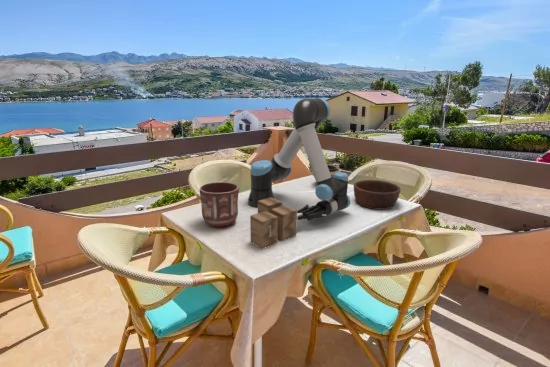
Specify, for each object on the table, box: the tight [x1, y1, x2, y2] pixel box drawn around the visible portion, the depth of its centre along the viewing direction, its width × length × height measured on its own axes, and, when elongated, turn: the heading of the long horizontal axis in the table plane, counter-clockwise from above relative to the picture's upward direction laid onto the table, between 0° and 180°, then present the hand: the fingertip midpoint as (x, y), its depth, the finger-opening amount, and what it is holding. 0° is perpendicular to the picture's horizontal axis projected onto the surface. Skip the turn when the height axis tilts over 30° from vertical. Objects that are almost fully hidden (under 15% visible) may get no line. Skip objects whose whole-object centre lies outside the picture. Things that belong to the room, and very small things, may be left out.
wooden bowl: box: [353, 179, 401, 210], centre depth 178 cm, size 25×25×10 cm
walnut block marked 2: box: [257, 197, 283, 213], centre depth 148 cm, size 8×8×12 cm
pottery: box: [199, 181, 240, 229], centre depth 149 cm, size 18×18×18 cm
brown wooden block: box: [271, 204, 298, 241], centre depth 138 cm, size 8×8×12 cm
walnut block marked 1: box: [249, 211, 278, 250], centre depth 131 cm, size 8×8×12 cm
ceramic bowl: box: [312, 163, 343, 179], centre depth 209 cm, size 24×18×15 cm
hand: (291, 219), depth 141 cm, fingers closed
